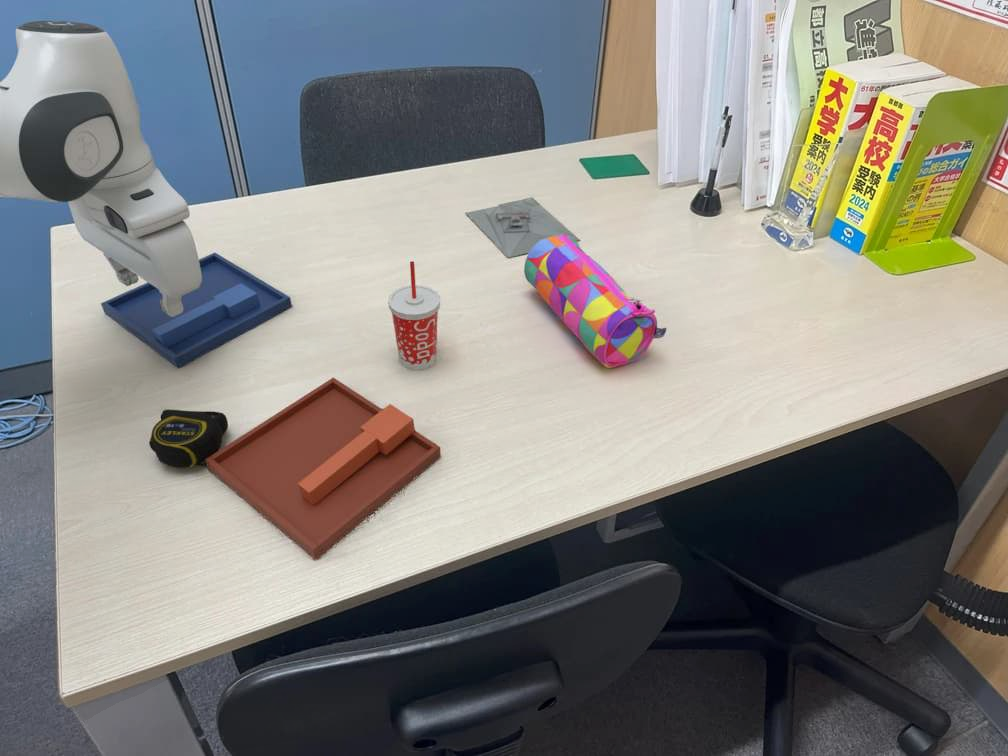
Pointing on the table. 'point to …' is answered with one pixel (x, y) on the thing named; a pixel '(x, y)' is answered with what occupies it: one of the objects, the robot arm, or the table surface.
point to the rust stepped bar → (358, 452)
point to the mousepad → (518, 225)
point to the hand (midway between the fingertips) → (151, 297)
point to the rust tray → (301, 450)
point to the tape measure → (187, 437)
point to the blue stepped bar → (208, 315)
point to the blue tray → (218, 275)
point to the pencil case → (590, 302)
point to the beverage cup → (415, 323)
